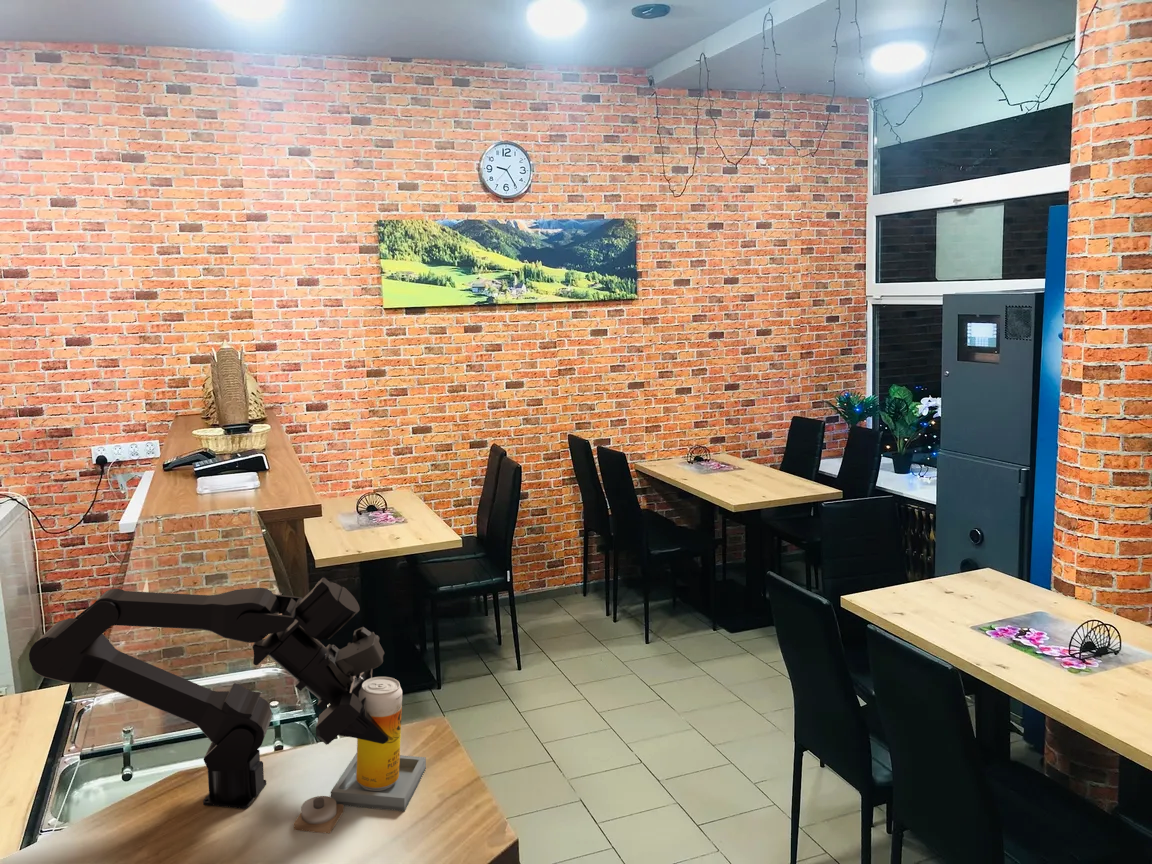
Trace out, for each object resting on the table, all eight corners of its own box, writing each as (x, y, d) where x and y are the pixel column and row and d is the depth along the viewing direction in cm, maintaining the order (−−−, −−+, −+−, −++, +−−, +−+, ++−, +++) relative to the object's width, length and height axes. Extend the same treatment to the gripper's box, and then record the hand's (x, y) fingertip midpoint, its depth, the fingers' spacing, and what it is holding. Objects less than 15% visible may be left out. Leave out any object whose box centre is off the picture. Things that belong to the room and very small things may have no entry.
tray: (331, 804, 124) (330, 791, 124) (357, 763, 134) (357, 751, 134) (404, 811, 123) (404, 798, 122) (425, 769, 133) (425, 757, 133)
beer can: (396, 793, 126) (400, 695, 123) (352, 793, 125) (355, 694, 123) (400, 770, 132) (404, 675, 129) (359, 769, 131) (362, 674, 129)
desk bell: (293, 830, 118) (293, 809, 118) (309, 808, 123) (308, 788, 122) (329, 833, 118) (329, 813, 117) (343, 811, 122) (343, 791, 122)
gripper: (340, 648, 114) (426, 724, 118) (356, 596, 133) (430, 663, 136) (278, 707, 115) (366, 781, 118) (302, 647, 133) (378, 713, 136)
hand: (387, 730), depth 127 cm, fingers closed on beer can, 6 cm apart
